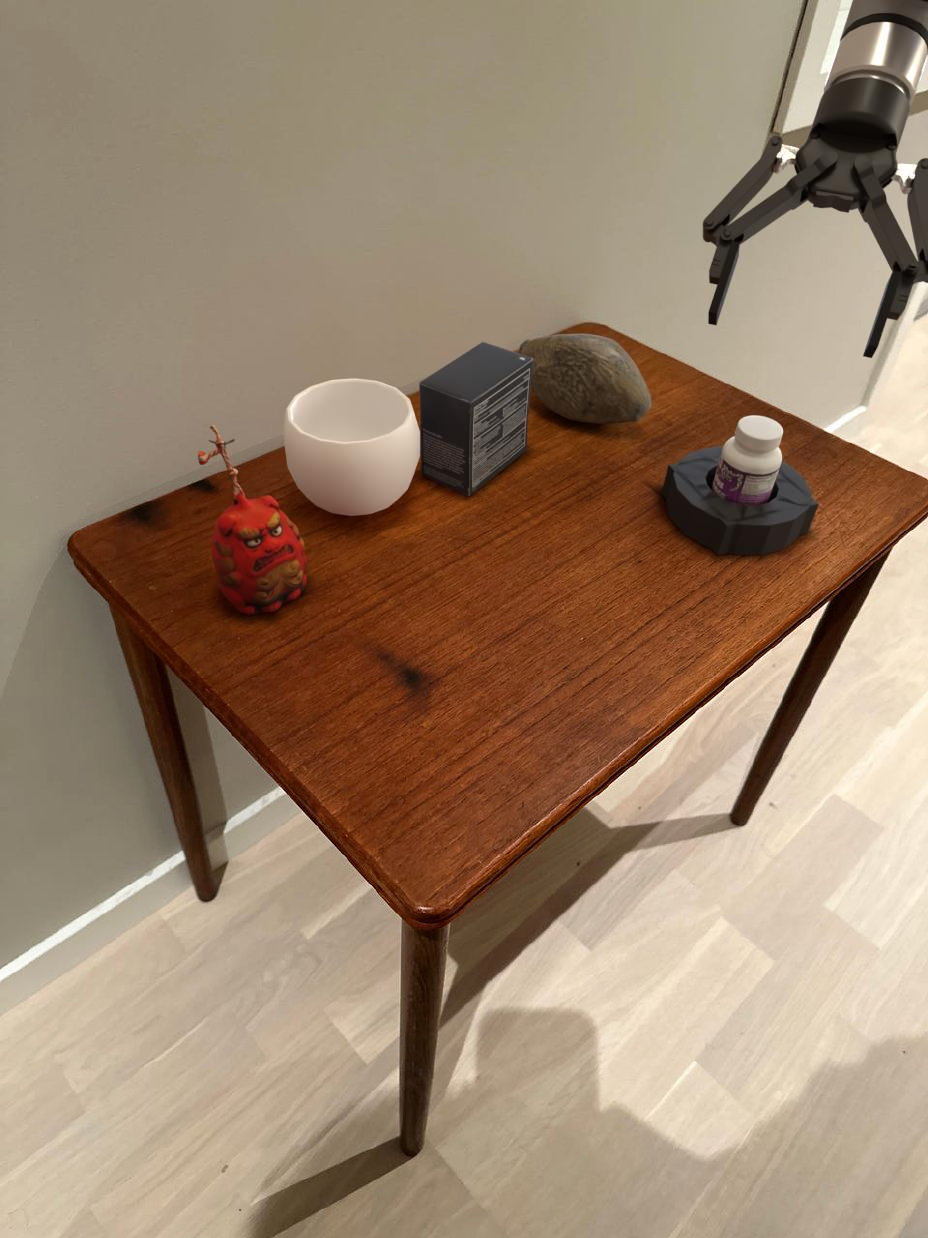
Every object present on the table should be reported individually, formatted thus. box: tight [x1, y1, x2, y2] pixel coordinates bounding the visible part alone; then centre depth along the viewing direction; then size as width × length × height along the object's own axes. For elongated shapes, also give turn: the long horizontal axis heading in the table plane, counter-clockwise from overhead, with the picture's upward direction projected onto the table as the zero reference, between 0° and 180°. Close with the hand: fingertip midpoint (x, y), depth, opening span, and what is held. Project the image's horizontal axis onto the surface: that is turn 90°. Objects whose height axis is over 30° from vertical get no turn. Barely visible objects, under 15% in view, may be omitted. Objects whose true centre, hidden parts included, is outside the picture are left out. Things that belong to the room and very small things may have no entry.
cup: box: [282, 377, 421, 517], centre depth 80 cm, size 12×12×10 cm
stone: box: [518, 333, 652, 425], centre depth 94 cm, size 17×9×8 cm, turn 52°
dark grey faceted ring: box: [661, 445, 820, 556], centre depth 82 cm, size 12×12×4 cm
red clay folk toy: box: [197, 425, 308, 616], centre depth 68 cm, size 8×7×15 cm
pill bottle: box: [711, 414, 784, 505], centre depth 80 cm, size 5×5×10 cm
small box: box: [418, 341, 533, 497], centre depth 85 cm, size 11×6×10 cm, turn 144°
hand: (789, 335), depth 76 cm, fingers open, 13 cm apart
